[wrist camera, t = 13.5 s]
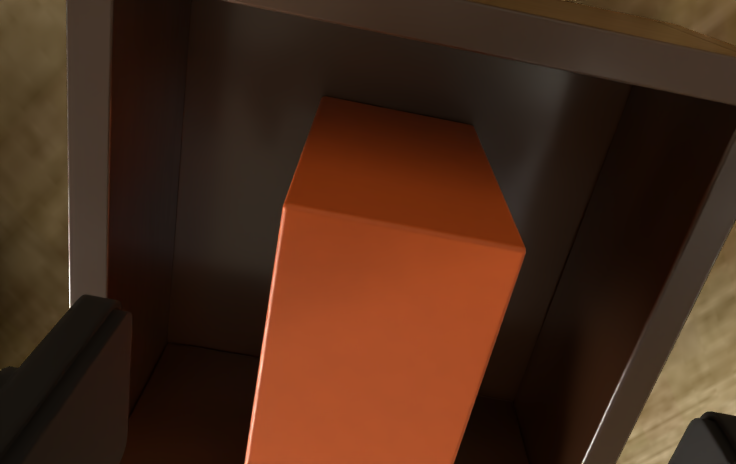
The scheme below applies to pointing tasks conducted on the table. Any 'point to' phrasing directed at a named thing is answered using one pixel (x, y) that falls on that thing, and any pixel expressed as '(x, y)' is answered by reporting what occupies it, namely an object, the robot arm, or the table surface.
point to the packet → (382, 292)
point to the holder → (418, 96)
